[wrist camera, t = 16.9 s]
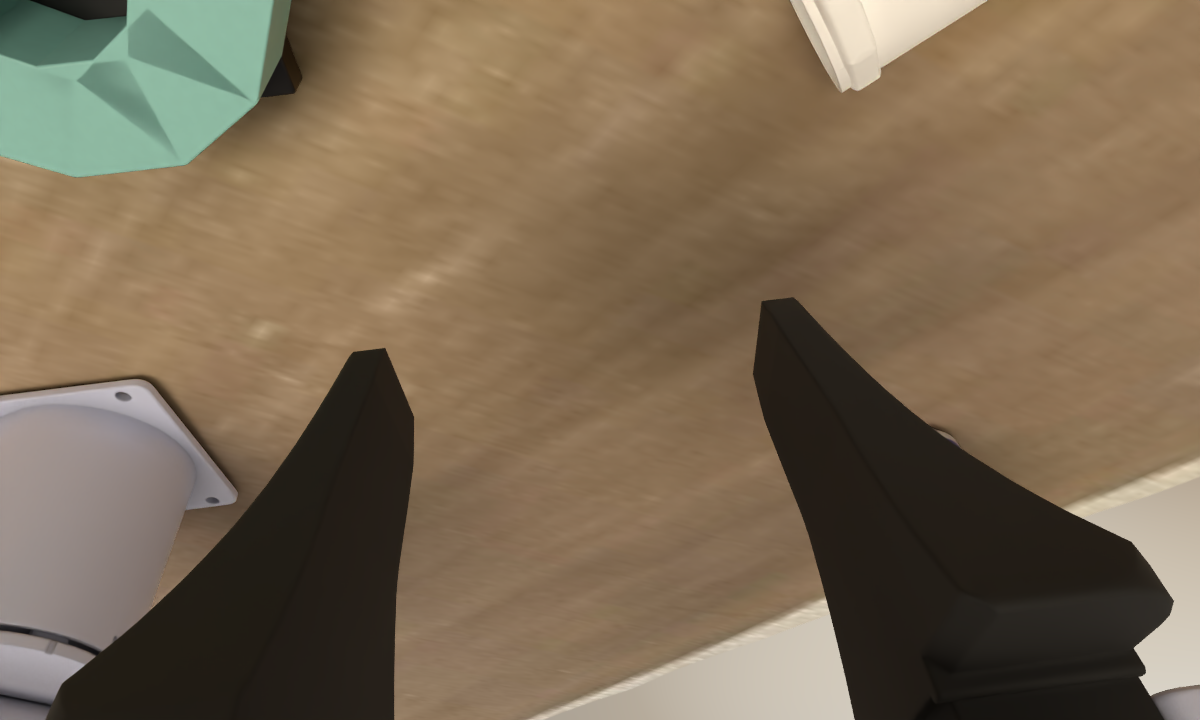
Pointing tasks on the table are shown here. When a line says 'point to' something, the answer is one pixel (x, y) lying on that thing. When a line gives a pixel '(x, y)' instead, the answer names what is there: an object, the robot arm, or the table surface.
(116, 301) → the table surface
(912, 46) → the knuckle duster
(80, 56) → the ring
